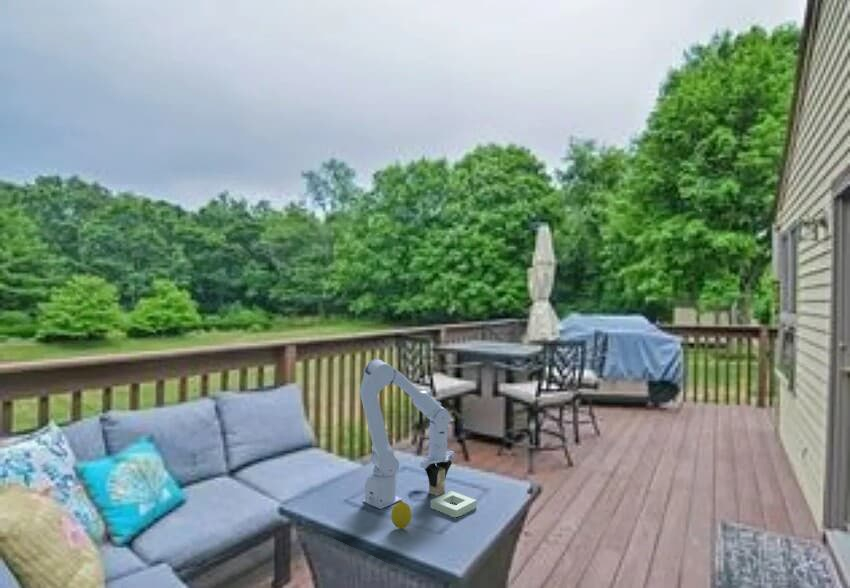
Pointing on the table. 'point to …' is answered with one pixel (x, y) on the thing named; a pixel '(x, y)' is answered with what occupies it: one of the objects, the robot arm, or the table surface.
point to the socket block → (457, 510)
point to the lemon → (401, 515)
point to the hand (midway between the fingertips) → (437, 484)
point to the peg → (439, 483)
